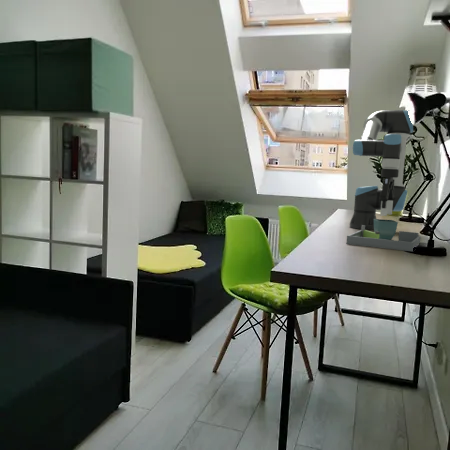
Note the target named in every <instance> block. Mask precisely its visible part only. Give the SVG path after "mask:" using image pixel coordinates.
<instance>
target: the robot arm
mask: <svg viewBox="0 0 450 450" xmlns="http://www.w3.org/2000/svg"><path fill="white" fill-rule="evenodd" d="M407 110H408V109H407ZM407 110H404V109H402V110H401V109H395V110H394V109H389V110H386V109H385V110H384V109H383V110H378V111H374V112H373V113H371V114H370V115H368V117H367V118H366V119H364V122H363V130H362V132H361V133H362V134H361V137H360V139H355V140H354V141H353V144H352V154H353V155H354V156H360V157H361V156H362V157H365V156H366V157H382V160H381V161H380V163H381V168H382V169H381V172H380V176H381V178H383V183H382V186H381V188H379V186H378V185H369V186H368V185H367V186H359V187H357V188H355V194H354V206H353V214H352V217H351V219H350V222H349V228H351V229H360V230H361V228H362V225H365V230H374V219H377V210H378V211H379V212H380V213H379V216H381V217H382V216H383V217H387V216H388V215H393V212H402V211H403V210H404V208H405V204H406V200H407V196H408V189H406V186H405V185H404V183H403V182H404V181H403V179H404V171H405V157H406V147H407V139H409V138H410V137H411V134H412V133H413V132H414V123H413V124H412V123H411V121H410V118H409V115H408V111H409V110H408V111H407ZM379 133H387V134H385V135H384V137H383V138H384V139H383V140H377V139H378V135H379Z"/></svg>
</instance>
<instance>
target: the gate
mask: <svg viewBox="0 0 450 450" xmlns="http://www.w3.org/2000/svg"><path fill="white" fill-rule="evenodd" d="M379 235H380V232H379V231H375V232H374V231H370V230H368V229H365V230H364V232H363V237H367V238H376V239H379Z"/></svg>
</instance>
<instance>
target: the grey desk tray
mask: <svg viewBox="0 0 450 450" xmlns="http://www.w3.org/2000/svg"><path fill="white" fill-rule="evenodd" d="M364 230H366V229H365V225H362V228H361V229H360V230H357V231H355V232H352V233H350V234H347V235H346V244H347V245H352V246H353V245H354V246H362V247H363V246H364V247H370V248H379V249H388V250H397V251H404V252H405V251H406V252H414V251H413V248H414V246H415V245H416V244H417V243H420V244H421V238H422V237H421V236H420V235H419V232H416V231H415V232H414V231H402V230H398V231H399V232H398V233H399V234H398V240H395V239H393V240H392V239H391V240H386V239H376V238H367V237H363V232H364Z"/></svg>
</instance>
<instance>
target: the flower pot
mask: <svg viewBox="0 0 450 450" xmlns="http://www.w3.org/2000/svg"><path fill="white" fill-rule="evenodd" d="M398 224H399V222H398V221H397V220H395V219H394V220H392V219H382V218H381V219H380V218H376V219H374V229H373V232H374V233H375V231H379V232H380V235H379V239H386V240H392V239H393V238H394V236H395V235H396V233H397V229H398V228H397V227H398Z"/></svg>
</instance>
